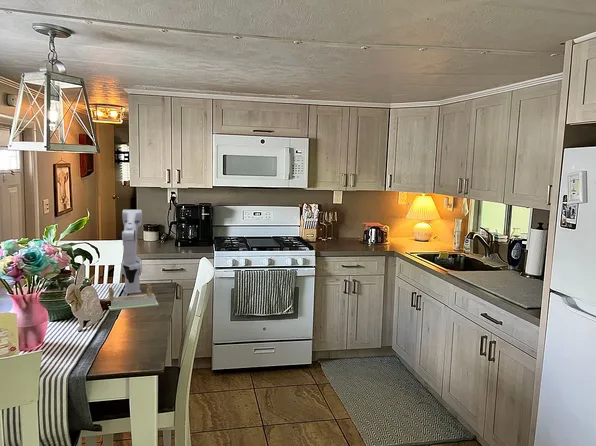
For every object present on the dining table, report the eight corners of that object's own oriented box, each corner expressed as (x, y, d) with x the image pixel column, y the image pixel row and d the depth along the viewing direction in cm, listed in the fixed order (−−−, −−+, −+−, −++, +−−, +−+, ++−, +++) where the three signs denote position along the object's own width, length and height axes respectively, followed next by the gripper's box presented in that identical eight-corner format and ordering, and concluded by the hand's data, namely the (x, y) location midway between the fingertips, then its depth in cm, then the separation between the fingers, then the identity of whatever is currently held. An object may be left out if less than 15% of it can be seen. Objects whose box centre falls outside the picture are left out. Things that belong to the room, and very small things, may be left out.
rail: (111, 307, 223) (111, 301, 223) (111, 305, 226) (110, 299, 225) (155, 302, 232) (155, 297, 232) (154, 301, 235) (154, 295, 234)
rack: (105, 300, 236) (104, 287, 235) (153, 295, 246) (153, 283, 245) (106, 304, 230) (106, 291, 229) (155, 299, 240) (155, 286, 239)
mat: (108, 305, 228) (108, 304, 228) (155, 300, 237) (155, 299, 237) (109, 310, 221) (109, 309, 220) (158, 305, 230) (158, 304, 230)
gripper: (119, 251, 240) (119, 278, 242) (122, 257, 227) (123, 285, 229) (134, 251, 243) (134, 277, 245) (138, 256, 231) (138, 283, 232)
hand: (130, 281), depth 237 cm, fingers open, 7 cm apart
